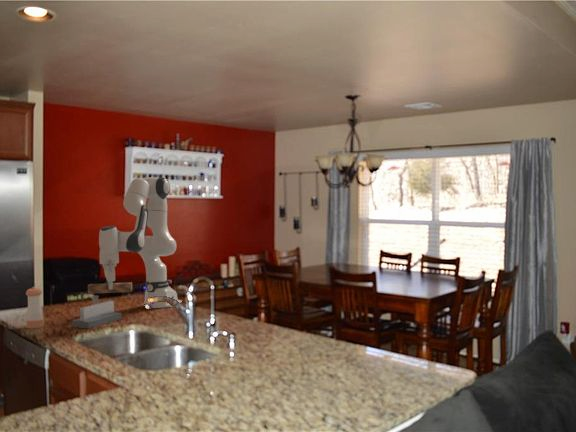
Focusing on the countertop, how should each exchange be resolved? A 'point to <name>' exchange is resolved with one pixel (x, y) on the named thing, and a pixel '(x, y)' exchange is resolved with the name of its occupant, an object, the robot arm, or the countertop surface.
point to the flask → (95, 300)
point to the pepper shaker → (34, 308)
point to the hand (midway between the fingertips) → (110, 288)
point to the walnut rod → (105, 288)
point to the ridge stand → (97, 315)
